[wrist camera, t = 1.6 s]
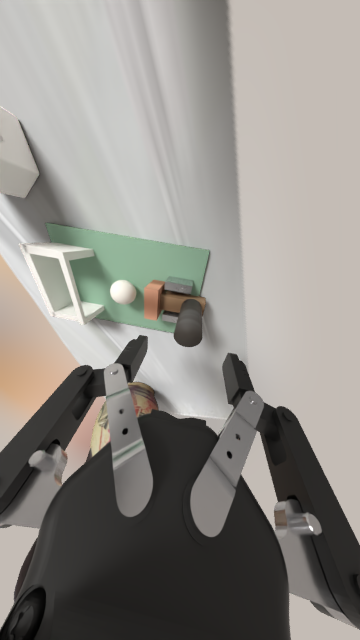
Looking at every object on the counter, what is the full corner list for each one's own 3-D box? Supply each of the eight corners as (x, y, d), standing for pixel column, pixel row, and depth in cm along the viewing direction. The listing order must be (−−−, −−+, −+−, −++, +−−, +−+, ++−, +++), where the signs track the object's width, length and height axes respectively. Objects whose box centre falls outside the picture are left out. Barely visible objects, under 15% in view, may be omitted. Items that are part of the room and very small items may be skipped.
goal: (54, 242, 21) (12, 243, 17) (93, 249, 21) (62, 252, 16) (73, 303, 27) (47, 317, 23) (104, 309, 27) (84, 325, 22)
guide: (169, 276, 22) (165, 281, 19) (193, 280, 22) (192, 286, 19) (165, 312, 26) (161, 320, 23) (186, 316, 25) (184, 324, 23)
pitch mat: (48, 223, 20) (44, 222, 20) (209, 250, 20) (209, 250, 19) (76, 312, 29) (75, 313, 29) (189, 334, 28) (189, 336, 28)
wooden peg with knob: (153, 279, 22) (125, 305, 14) (207, 289, 22) (211, 321, 14) (152, 306, 25) (128, 341, 16) (200, 315, 25) (200, 355, 16)
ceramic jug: (171, 385, 39) (119, 661, 14) (156, 407, 47) (104, 605, 22) (115, 364, 37) (-66, 638, 12) (109, 391, 45) (-6, 586, 20)
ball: (117, 275, 23) (102, 281, 20) (139, 279, 23) (129, 286, 19) (119, 296, 25) (106, 306, 22) (140, 300, 25) (130, 310, 22)
